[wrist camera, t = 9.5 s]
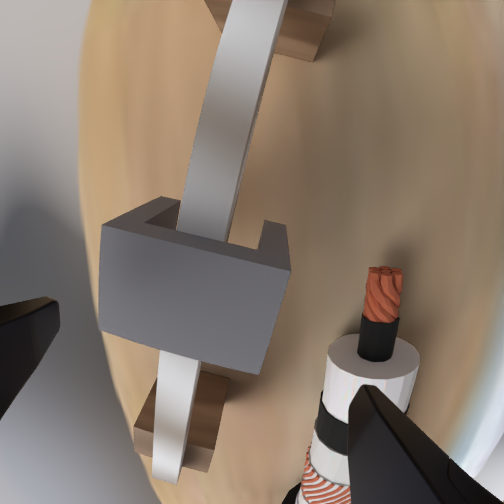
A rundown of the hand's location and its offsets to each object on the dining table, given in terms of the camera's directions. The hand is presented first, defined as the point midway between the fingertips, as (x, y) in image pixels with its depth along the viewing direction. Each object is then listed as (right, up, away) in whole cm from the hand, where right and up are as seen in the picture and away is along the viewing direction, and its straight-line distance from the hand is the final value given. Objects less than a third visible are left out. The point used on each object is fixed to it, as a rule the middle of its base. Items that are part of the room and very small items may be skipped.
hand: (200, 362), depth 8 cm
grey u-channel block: (0, +3, +7) cm, 8 cm away
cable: (+9, -13, +17) cm, 23 cm away
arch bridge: (0, +4, +11) cm, 12 cm away
